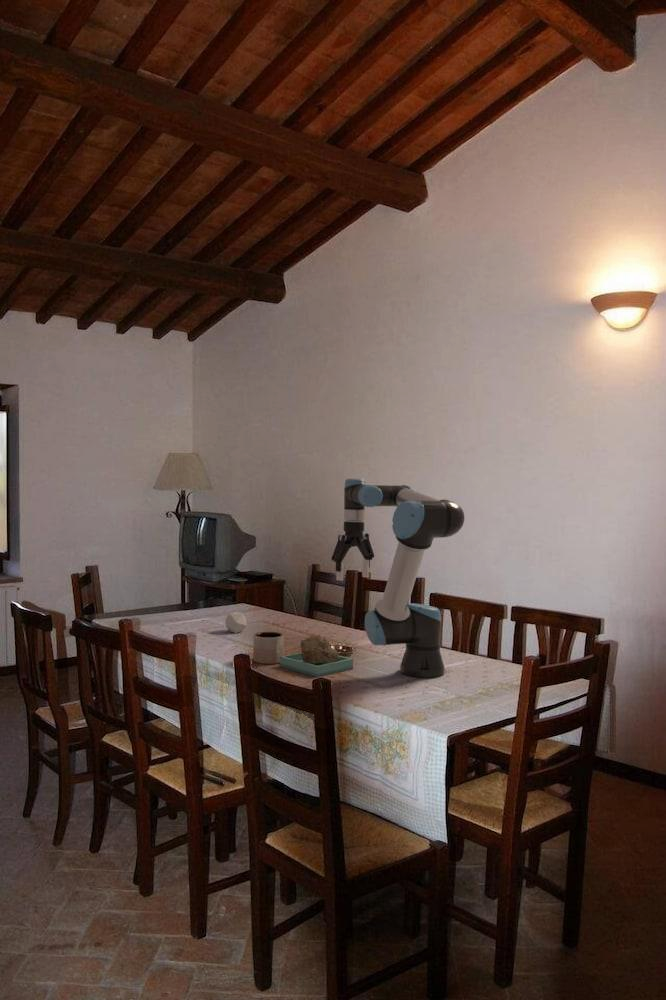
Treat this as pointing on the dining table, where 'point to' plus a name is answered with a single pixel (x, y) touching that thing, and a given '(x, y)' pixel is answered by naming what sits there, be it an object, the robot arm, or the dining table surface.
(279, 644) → the planter
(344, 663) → the glazed dish
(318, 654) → the rock
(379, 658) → the dining table surface
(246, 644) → the dining table surface
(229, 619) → the die
